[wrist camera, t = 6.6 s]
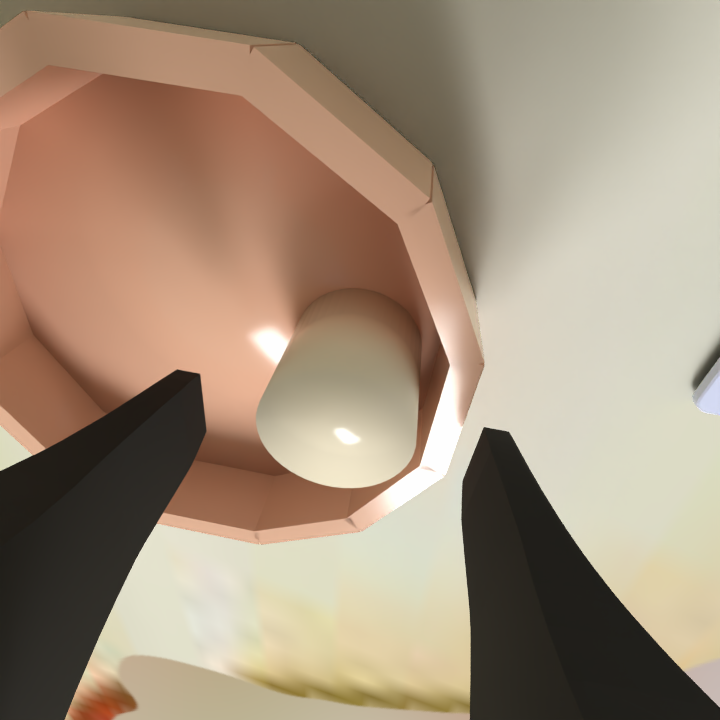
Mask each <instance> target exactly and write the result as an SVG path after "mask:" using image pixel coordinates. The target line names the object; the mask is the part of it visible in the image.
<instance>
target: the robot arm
mask: <svg viewBox="0 0 720 720" xmlns="http://www.w3.org/2000/svg"><path fill="white" fill-rule="evenodd" d="M692 398H693V402H694V403H695V405H696V406H697V407H698V409H699V410H700V411H702V412H705V413H709V414H715V415H720V358H719V359H718V360H717V362H716V363H715V364H714V366H713V367H712V368H711V370H710V371H709V373H708V374H707V375H706V377H705V378H704V379H703V381H702V382H701V383H700V385H699V386H698V388H697V389H696V390H695V392H694V394H693V396H692ZM206 432H207V430H206V421H205V412H204V403H203V394H202V385H201V376H200V374H199V373H194V372H189V371H183V370H178V369H177V370H175V371H174V372H172V373H170V374H169V375H167V376H166V377H164V378H162V379H161V380H159V381H158V382H156V383H155V384H153V385H152V386H150V387H149V388H147V389H146V390H144V391H143V392H141V393H139V394H138V395H136V396H135V397H133V398H132V399H130V400H129V401H127V402H125V403H124V404H122V405H121V406H119V407H118V408H116V409H114V410H113V411H111V412H110V413H108V414H106V415H105V416H103V417H102V418H100V419H98V420H96V421H95V422H93V423H91V424H89V425H88V426H86V427H84V428H82V429H81V430H79V431H77V432H76V433H74V434H72V435H70V436H69V437H67V438H65V439H63V440H62V441H60V442H58V443H56V444H54V445H52V446H51V447H49V448H47V449H45V450H43V451H41V452H39V453H37V454H35V455H33V456H31V457H29V458H27V459H25V460H23V461H21V462H19V463H16V464H14V465H12V466H10V467H8V468H6V469H4V470H2V471H0V720H65V717H66V715H67V712H68V710H69V707H70V705H71V702H72V700H73V697H74V694H75V692H76V689H77V687H78V685H79V682H80V680H81V678H82V675H83V673H84V671H85V668H86V666H87V664H88V661H89V659H90V657H91V654H92V652H93V650H94V647H95V645H96V643H97V640H98V638H99V636H100V634H101V632H102V629H103V627H104V625H105V623H106V621H107V618H108V616H109V614H110V612H111V610H112V608H113V605H114V603H115V601H116V599H117V597H118V595H119V593H120V591H121V588H122V586H123V584H124V582H125V580H126V578H127V576H128V574H129V572H130V570H131V568H132V566H133V564H134V562H135V560H136V558H137V556H138V554H139V552H140V551H141V549H142V547H143V545H144V543H145V542H146V540H147V538H148V537H149V535H150V534H151V532H152V530H153V529H154V527H155V525H156V524H157V522H158V520H159V519H160V517H161V516H162V514H163V512H164V511H165V509H166V507H167V506H168V504H169V502H170V501H171V499H172V498H173V496H174V494H175V493H176V491H177V489H178V488H179V486H180V484H181V483H182V481H183V479H184V478H185V476H186V474H187V473H188V471H189V469H190V467H191V466H192V463H193V461H194V459H195V457H196V455H197V453H198V450H199V448H200V446H201V443H202V441H203V439H204V436H205V434H206ZM461 520H462V532H463V543H464V555H465V565H466V576H467V587H468V597H469V608H470V626H471V685H470V720H720V707H718V705H717V704H716V703H715V702H713V701H712V700H711V699H710V698H709V696H708V695H707V694H706V693H704V692H703V690H702V689H701V688H700V687H699V686H698V685H697V684H696V683H695V682H694V681H693V680H692V679H691V678H690V677H689V676H688V675H687V674H686V673H685V672H684V671H683V670H682V669H681V668H680V667H679V666H678V665H677V664H676V663H675V662H674V661H673V660H672V659H671V658H670V657H669V656H668V654H667V653H666V652H665V651H664V650H663V649H662V648H661V647H660V646H659V645H658V644H657V643H656V641H655V640H654V639H653V638H652V637H651V636H650V635H649V634H648V632H647V631H646V630H645V629H644V628H643V627H642V626H641V625H640V623H639V622H638V621H637V620H636V619H635V618H634V617H633V616H632V615H631V613H630V612H629V611H628V610H627V609H626V608H625V606H624V605H623V604H622V603H621V602H620V600H619V599H618V598H617V597H616V596H615V594H614V593H613V592H612V591H611V589H610V588H609V587H608V586H607V584H606V583H605V582H604V580H603V579H602V578H601V577H600V575H599V574H598V573H597V572H596V570H595V569H594V568H593V566H592V565H591V564H590V562H589V561H588V560H587V558H586V557H585V555H584V554H583V553H582V551H581V550H580V548H579V547H578V545H577V544H576V543H575V541H574V540H573V538H572V537H571V535H570V534H569V532H568V531H567V529H566V528H565V526H564V525H563V523H562V522H561V520H560V519H559V517H558V516H557V514H556V512H555V511H554V509H553V508H552V506H551V504H550V503H549V501H548V499H547V498H546V496H545V495H544V493H543V491H542V490H541V488H540V486H539V484H538V483H537V481H536V479H535V478H534V476H533V474H532V472H531V471H530V469H529V467H528V465H527V463H526V462H525V460H524V458H523V456H522V454H521V453H520V451H519V449H518V447H517V445H516V443H515V441H514V440H513V438H512V436H511V435H510V433H509V432H507V431H502V430H496V429H491V428H486V427H484V428H483V431H482V433H481V436H480V438H479V441H478V443H477V446H476V448H475V451H474V453H473V456H472V459H471V461H470V464H469V466H468V469H467V471H466V474H465V476H464V479H463V485H462V519H461Z"/></svg>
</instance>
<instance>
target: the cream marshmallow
mask: <svg viewBox="0 0 720 720" xmlns="http://www.w3.org/2000/svg"><path fill="white" fill-rule="evenodd" d="M421 352H422V342H421V336H420V332H419V329H418V327H417V324H416V323H415V321H414V319H413V318H412V316H411V315H410V314H409V313H408V311H407V310H405V309H404V308H403V307H402V306H401V305H400V304H399V303H397V302H396V301H395V300H393V299H391V298H389V297H388V296H386V295H383V294H381V293H378V292H375V291H372V290H367V289H359V288H348V289H340V290H335V291H332V292H329V293H327V294H325V295H323V296H321V297H319V298H318V299H316V300H315V301H314V302H312V303H311V304H310V305H309V306H308V307H307V309H306V310H305V311H304V313H303V315H302V316H301V318H300V320H299V322H298V324H297V326H296V328H295V330H294V332H293V335H292V337H291V339H290V341H289V343H288V345H287V347H286V349H285V351H284V353H283V355H282V357H281V359H280V361H279V363H278V365H277V367H276V369H275V371H274V373H273V375H272V377H271V379H270V381H269V383H268V385H267V387H266V389H265V392H264V394H263V396H262V398H261V400H260V402H259V405H258V407H257V412H256V426H257V431H258V434H259V436H260V439H261V441H262V443H263V445H264V446H265V448H266V449H267V450H268V452H269V453H270V454H271V455H272V456H273V457H274V459H275V460H277V461H278V462H279V463H280V464H281V465H282V466H284V467H285V468H287V469H288V470H289V471H291V472H293V473H294V474H296V475H298V476H300V477H302V478H304V479H307V480H309V481H312V482H315V483H318V484H322V485H326V486H331V487H338V488H362V487H368V486H373V485H376V484H380V483H382V482H385V481H387V480H389V479H391V478H393V477H394V476H396V475H397V474H398V473H400V472H401V471H402V470H403V469H404V468H405V467H406V466H407V465H408V463H409V462H410V460H411V458H412V456H413V454H414V451H415V448H416V439H417V421H418V404H419V387H420V369H421Z"/></svg>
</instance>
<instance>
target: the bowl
mask: <svg viewBox="0 0 720 720" xmlns="http://www.w3.org/2000/svg"><path fill="white" fill-rule="evenodd" d="M348 288H359V289H367V290H372V291H375V292H378V293H381V294H383V295H386V296H388V297H389V298H391V299H393V300H395V301H396V302H397V303H399V304H400V305H401V306H402V307H403V308H404V309H405V310H407V311H408V313H409V314H410V315H411V316H412V318H413V319H414V321H415V323H416V324H417V327H418V329H419V332H420V336H421V342H422V352H421V369H420V387H419V404H418V421H417V439H416V448H415V451H414V454H413V456H412V458H411V460H410V462H409V463H408V465H407V466H406V467H405V468H404V469H403V470H402V471H401V472H400V473H398V474H397V475H396V476H394V477H393V478H391V479H389V480H387V481H385V482H382V483H380V484H376V485H373V486H368V487H362V488H338V487H331V486H326V485H322V484H318V483H315V482H312V481H309V480H307V479H304V478H302V477H300V476H298V475H296V474H294V473H293V472H291V471H289V470H288V469H287V468H285V467H284V466H282V465H281V464H280V463H279V462H278V461H277V460H275V459H274V457H273V456H272V455H271V454H270V453H269V452H268V450H267V449H266V448H265V446H264V445H263V443H262V441H261V439H260V436H259V434H258V431H257V426H256V412H257V407H258V405H259V402H260V400H261V398H262V396H263V394H264V392H265V389H266V387H267V385H268V383H269V381H270V379H271V377H272V375H273V373H274V371H275V369H276V367H277V365H278V363H279V361H280V359H281V357H282V355H283V353H284V351H285V349H286V347H287V345H288V343H289V341H290V339H291V337H292V335H293V332H294V330H295V328H296V326H297V324H298V322H299V320H300V318H301V316H302V315H303V313H304V311H305V310H306V309H307V307H308V306H309V305H310V304H311V303H312V302H314V301H315V300H316V299H318V298H319V297H321V296H323V295H325V294H327V293H329V292H332V291H335V290H340V289H348ZM483 368H484V355H483V348H482V341H481V333H480V326H479V319H478V311H477V304H476V299H475V296H474V293H473V289H472V286H471V283H470V280H469V276H468V273H467V270H466V267H465V264H464V260H463V257H462V254H461V251H460V247H459V244H458V241H457V238H456V235H455V231H454V228H453V225H452V222H451V218H450V215H449V212H448V209H447V206H446V202H445V199H444V196H443V193H442V189H441V186H440V183H439V180H438V176H437V173H436V170H435V167H434V165H433V166H432V162H431V161H430V160H429V159H428V158H427V157H426V156H424V155H423V154H422V153H421V152H420V151H419V150H418V149H417V148H415V147H414V146H413V145H412V144H411V143H410V142H409V141H408V140H406V139H405V138H404V137H403V136H402V135H401V134H400V133H399V132H397V131H396V130H395V129H394V128H393V127H392V126H391V125H390V124H388V123H387V122H386V121H385V120H384V119H383V118H382V117H381V116H379V115H378V114H377V113H376V112H375V111H374V110H373V109H372V108H370V107H369V106H368V105H367V104H366V103H365V102H364V101H363V100H361V99H360V98H359V97H358V96H357V95H356V94H355V93H354V92H352V91H351V90H350V89H349V88H348V87H347V86H346V85H345V84H344V83H342V82H341V81H340V80H339V79H338V78H337V77H336V76H335V75H333V74H332V73H331V72H330V71H329V70H328V69H327V68H326V67H324V66H323V65H322V64H321V63H320V62H319V61H318V60H317V59H315V58H314V57H313V56H312V55H311V54H310V53H309V52H308V51H306V50H305V49H304V48H303V47H302V46H301V45H300V44H297V45H296V43H294V42H287V41H281V40H274V39H268V38H261V37H255V36H248V35H242V34H235V33H229V32H222V31H216V30H209V29H203V28H196V27H189V26H183V25H176V24H170V23H163V22H157V21H150V20H144V19H137V18H131V17H121V16H106V15H90V14H74V13H59V12H43V11H28V10H26V11H22V12H21V13H20V14H18V15H17V16H16V17H14V18H13V19H12V20H10V21H9V22H8V23H6V24H5V25H4V26H2V27H1V28H0V425H1V426H2V427H3V428H4V429H5V430H6V431H7V432H8V433H9V434H10V435H12V436H13V437H14V438H15V439H16V440H17V441H18V442H19V443H20V444H21V445H22V446H24V447H25V448H26V449H27V450H28V451H29V452H30V453H31V454H32V455H35V454H37V453H39V452H41V451H43V450H45V449H47V448H49V447H51V446H52V445H54V444H56V443H58V442H60V441H62V440H63V439H65V438H67V437H69V436H70V435H72V434H74V433H76V432H77V431H79V430H81V429H82V428H84V427H86V426H88V425H89V424H91V423H93V422H95V421H96V420H98V419H100V418H102V417H103V416H105V415H106V414H108V413H110V412H111V411H113V410H114V409H116V408H118V407H119V406H121V405H122V404H124V403H125V402H127V401H129V400H130V399H132V398H133V397H135V396H136V395H138V394H139V393H141V392H143V391H144V390H146V389H147V388H149V387H150V386H152V385H153V384H155V383H156V382H158V381H159V380H161V379H162V378H164V377H166V376H167V375H169V374H170V373H172V372H174V371H175V370H177V369H178V370H183V371H189V372H194V373H199V374H200V376H201V385H202V394H203V403H204V412H205V421H206V430H207V432H206V434H205V436H204V439H203V441H202V443H201V446H200V448H199V450H198V453H197V455H196V457H195V459H194V461H193V463H192V466H191V467H190V469H189V471H188V473H187V474H186V476H185V478H184V479H183V481H182V483H181V484H180V486H179V488H178V489H177V491H176V493H175V494H174V496H173V498H172V499H171V501H170V502H169V504H168V506H167V507H166V509H165V511H164V512H163V514H162V516H161V517H160V519H159V520H158V522H157V524H162V525H167V526H172V527H176V528H181V529H186V530H191V531H196V532H201V533H206V534H211V535H216V536H220V537H225V538H230V539H235V540H240V541H245V542H250V543H255V544H261V545H262V544H269V543H277V542H285V541H293V540H301V539H308V538H316V537H324V536H332V535H340V534H348V533H355V532H360V530H361V531H363V530H365V529H366V528H368V527H369V526H371V525H372V524H374V523H375V522H377V521H378V520H380V519H381V518H383V517H384V516H386V515H387V514H389V513H390V512H392V511H393V510H395V509H396V508H398V507H399V506H401V505H402V504H404V503H405V502H407V501H408V500H410V499H411V498H413V497H414V496H416V495H417V494H418V493H420V492H421V491H423V490H424V489H426V488H427V487H429V486H430V485H432V484H433V483H435V482H436V481H438V480H439V479H441V478H442V477H444V475H446V472H447V469H448V466H449V463H450V461H451V458H452V455H453V452H454V449H455V447H456V444H457V441H458V438H459V435H460V433H461V430H462V427H463V424H464V421H465V419H466V416H467V413H468V410H469V407H470V405H471V402H472V399H473V396H474V393H475V390H476V388H477V385H478V382H479V379H480V376H481V374H482V371H483Z"/></svg>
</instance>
